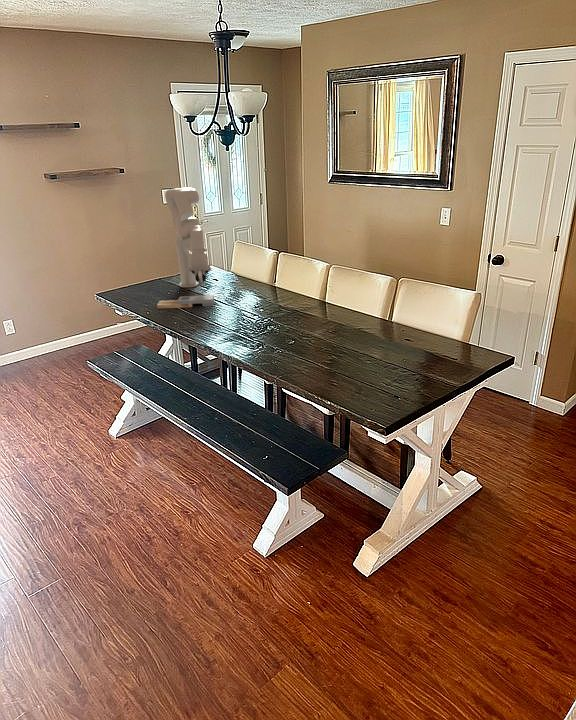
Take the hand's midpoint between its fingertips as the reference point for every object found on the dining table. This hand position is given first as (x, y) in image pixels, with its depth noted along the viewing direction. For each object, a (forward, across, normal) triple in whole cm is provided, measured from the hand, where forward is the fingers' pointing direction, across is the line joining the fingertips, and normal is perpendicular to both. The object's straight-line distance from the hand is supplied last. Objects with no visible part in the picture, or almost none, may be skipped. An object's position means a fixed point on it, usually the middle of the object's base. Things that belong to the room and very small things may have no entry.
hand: (201, 281), depth 319 cm
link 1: (+11, +14, +10) cm, 21 cm away
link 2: (+11, +2, +10) cm, 15 cm away
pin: (+2, 0, 0) cm, 2 cm away
